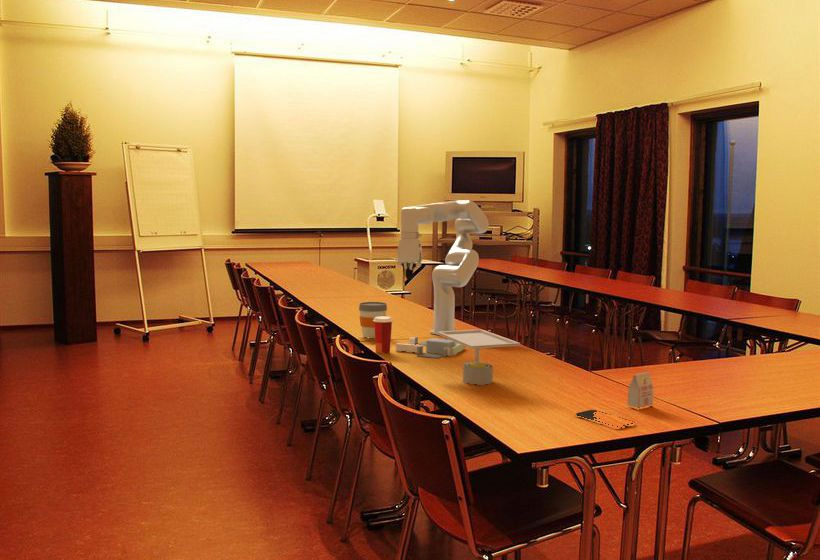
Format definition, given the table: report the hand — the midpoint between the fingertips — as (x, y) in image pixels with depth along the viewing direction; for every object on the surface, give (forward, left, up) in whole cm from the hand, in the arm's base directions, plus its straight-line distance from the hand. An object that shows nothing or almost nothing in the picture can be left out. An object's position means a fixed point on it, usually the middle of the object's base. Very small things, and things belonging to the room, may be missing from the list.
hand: (409, 278), depth 308 cm
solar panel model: (+60, +48, -27) cm, 82 cm away
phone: (+89, +93, -28) cm, 132 cm away
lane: (+16, +16, -27) cm, 35 cm away
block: (+19, +21, -27) cm, 39 cm away
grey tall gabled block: (+71, +101, -27) cm, 126 cm away
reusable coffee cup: (-2, -18, -27) cm, 33 cm away
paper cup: (+28, 0, -27) cm, 39 cm away
